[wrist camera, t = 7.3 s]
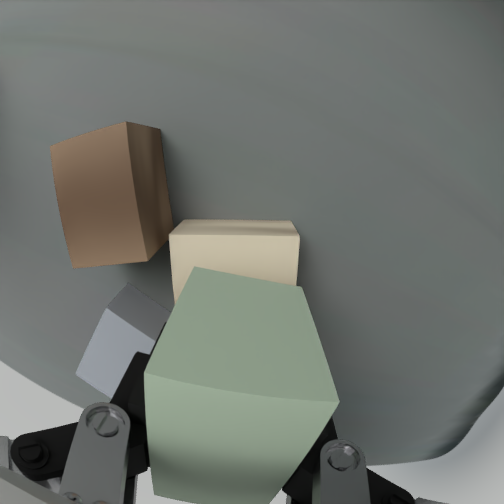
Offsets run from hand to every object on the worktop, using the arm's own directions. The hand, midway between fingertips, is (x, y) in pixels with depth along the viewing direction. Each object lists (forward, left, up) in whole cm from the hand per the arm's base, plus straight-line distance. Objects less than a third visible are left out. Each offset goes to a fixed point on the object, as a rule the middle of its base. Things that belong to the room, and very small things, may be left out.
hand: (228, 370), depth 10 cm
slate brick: (+4, -6, -6) cm, 9 cm away
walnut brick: (-5, -6, -5) cm, 9 cm away
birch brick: (0, 0, -6) cm, 6 cm away
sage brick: (-1, 0, -1) cm, 1 cm away
